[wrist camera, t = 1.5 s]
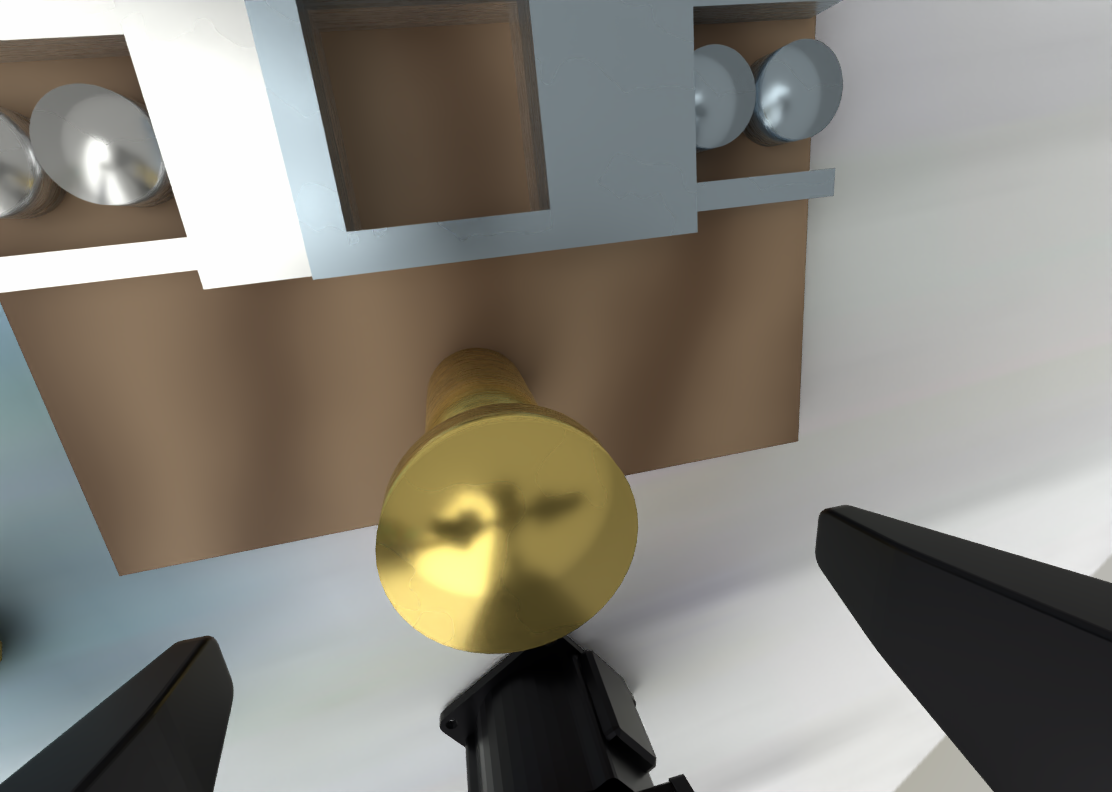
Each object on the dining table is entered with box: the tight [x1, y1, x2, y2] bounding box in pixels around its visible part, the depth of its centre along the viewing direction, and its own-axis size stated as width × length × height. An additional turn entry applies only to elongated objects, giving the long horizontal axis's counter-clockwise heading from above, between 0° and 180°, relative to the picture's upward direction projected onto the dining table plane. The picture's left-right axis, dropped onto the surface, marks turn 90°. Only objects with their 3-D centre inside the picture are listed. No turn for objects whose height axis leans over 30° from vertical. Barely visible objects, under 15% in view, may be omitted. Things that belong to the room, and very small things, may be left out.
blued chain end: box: [244, 0, 843, 280], centre depth 15 cm, size 15×7×3 cm, turn 96°
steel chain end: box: [0, 0, 540, 293], centre depth 14 cm, size 15×7×2 cm, turn 96°
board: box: [0, 15, 816, 576], centre depth 17 cm, size 24×16×2 cm, turn 96°
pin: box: [376, 348, 638, 654], centre depth 14 cm, size 5×5×9 cm
